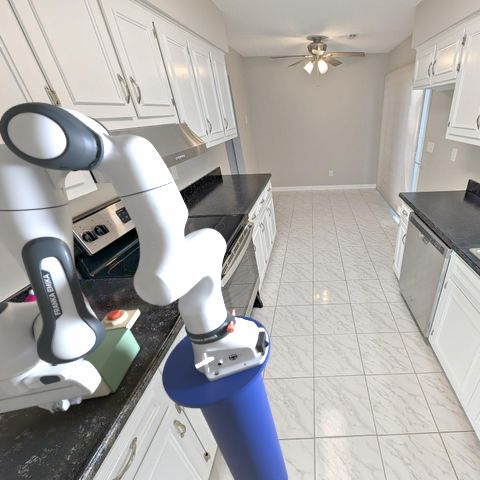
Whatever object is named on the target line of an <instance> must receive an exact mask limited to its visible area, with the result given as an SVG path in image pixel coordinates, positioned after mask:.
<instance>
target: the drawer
mask: <svg viewBox="0 0 480 480" xmlns="http://www.w3.org/2000/svg"><path fill="white" fill-rule="evenodd" d="M110 391H111V390H110V389H109V387H108V386H107V385H106V383H105V382H104V380H103V379H102V378H101V381H100V383H99V385H98V387H97V388H96V390H95V391H94V392H93V393H92V394H90V395H85V396H81V397H76V398H71V399H68V401H69V402H70V406H74V405H79V404H80V403H82V401H83V400H87V399H92V398H93V399H94V398H99V397H104V396H108V395H110V394H111V393H110Z"/></svg>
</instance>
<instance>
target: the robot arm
mask: <svg viewBox="0 0 480 480" xmlns="http://www.w3.org/2000/svg"><path fill="white" fill-rule="evenodd" d="M0 137H1V139H2V141H3V143H0V241H1V242H2V244H3V246H4V247H5V248H6V249H7V251H8V252H9V253H10V254H11V256H12V257H13V259H14V260H15V261H16V263H17V264H18V265H19V266H20V268H21V270H22V271H23V273H24V274H25V276H26V277H27V280H28V281H29V284H30V286H31V290H32V289H33V292H34V295H35V298H36V301H33V302H25V301H24V302H10V301H3V302H0V414H2V413H3V414H4V413H7V412H12V411H17V410H22V409H27V408H32V407H38V408H40V409H44V410H49V412H50V413H51V414H55V413H60V412H65V411H68V409H69V408H70V406H71V405H70V402H69V401H68V399H71V398H76V397H81V396H85V395H90V394H92V393H93V392H94V391H95V390H96V388H97V387H98V385H99V383H100V381H101V376H100V375H99V373H98V372H97V370H96V369H95V368H94V366H93V365H92V364H91V363H90V362H88V361H86V360H83V358H84V357H86V356H88V355H89V354H91V353H92V352H93V351H94V350H96V349H97V348H98V347H99V346H100V344H101V343H102V341H103V340H104V337H105V327H104V325H103V324H102V323H101V320H100V319H99V318H98V317H97V315H96V314H95V312H94V310H93V308H92V307H91V305H90V306H89V304H90V303H89V304H88V303H87V301H86V300H85V299H84V297H83V294H84V293H83V294H82V292H83V291H82V287H81V284H80V280H79V276H78V273H77V269H76V263H75V251H74V247H75V246H74V223H73V215H72V209H71V205H70V200H69V196H68V193H67V189H66V178H67V176H68V175H69V174H70V173H71V172H79V171H82V172H83V171H88V172H91V171H94V170H95V171H97V172H99V173H101V174H103V176H105V178H107V180H108V181H109V182H110V184H111V186H112V187H113V189H114V191H115V193H116V194H117V196H118V197H119V199H120V201H121V203H122V205H123V206H124V209H125V210H126V212H127V213H128V215H129V218H130V219H131V221H132V224H133V225H134V229H135V230H136V233H137V236H138V241H139V260H138V261H139V262H138V266H137V268H136V271H135V273H134V275H133V287H134V290H135V292H136V294H137V296H139V297H140V299H142V300H143V301H144V302H146V303H148V304H150V305H154V306H162V307H163V306H164V307H165V306H168V305H170V304H172V303H174V302H175V301H177V300H178V302H177V308H178V312H179V315H180V316H181V317H180V318H181V319H182V322H183V324H184V330H185V333H186V336H188V339H189V340H190V341H191V342H192V346H193V350H194V364H195V367H196V369H197V370H198V371H200V372H201V373H204V374H205V375H206V377H207V378H208V380H209V381H214V380H217V379H220V378H223V377H226V376H228V375H231V374H234V373H237V372H240V371H243V370H246V369H249V368H252V367H255V366H258V365H260V364H262V363H263V361H264V360H265V358H266V355H267V352H268V345H269V342H268V335H267V333H266V331H265V329H266V328H265V329H264V328H257V326H256V324H255V323H253V322H252V321H247V320H243V319H242V318H236V317H235V316H236V312H235V311H236V310H235V309H233V310H232V313H231V312H230V311H229V310H228V309H227V308H226V306H225V302H224V298H223V294H222V285H221V284H222V283H221V281H222V268H223V267H222V265H223V260H224V256H225V255H226V251H227V242H226V240H225V238H224V237H223V235H222V234H221V233H220V232H219V231H217V230H216V229H213V228H209V227H205V228H201V229H197V230H194V231H192V232H190V233H188V234H187V235H185V226H186V223H187V220H188V217H189V210H188V208H187V205H186V204H185V202H184V199H183V197H182V195H181V193H180V191H179V189H178V187H177V184H176V182H175V181H174V178H173V176H172V174H171V172H170V170H169V169H168V166H167V165H166V163H165V161H164V160H163V158H162V157H161V156H160V154H159V153H158V151H157V150H156V148H155V147H154V145H153V144H152V143H151V142H150V141H149V140H148V139H146V138H144V137H143V136H139V135H134V134H119V135H112V133H111V132H110V130H109V129H108V128H107V127H106V126H105V125H104V124H103V123H101V122H100V121H98V120H97V119H96V118H94V117H91V116H88V115H85V114H83V113H82V112H79V111H77V110H75V109H72V108H68V107H65V106H60V105H54V104H52V103H46V102H41V101H32V102H23V103H17V104H15V105H13V106H11V107H10V108H8V109H7V110H5V111H4V113H3V114H2V115H1V118H0ZM217 374H218V375H217Z"/></svg>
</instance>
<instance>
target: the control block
mask: <svg viewBox="0 0 480 480" xmlns="http://www.w3.org/2000/svg"><path fill="white" fill-rule="evenodd" d="M118 310H119V312H120V314H121V315H120V317H118V318H117V319H114V320H109V319H108V317H107V314H106V315H105V316H104V318H102V320H100V322H101V323H102V324H103V325H104V327H105V331H111V330H117V329H124V328H129V329H130V330H131V329H132V328H133V325H134V324H135V322H136V321H137V319H138V318H139V317H140V315H141V311H140V310H139V308H137V309H130V310H125V309H118Z"/></svg>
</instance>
